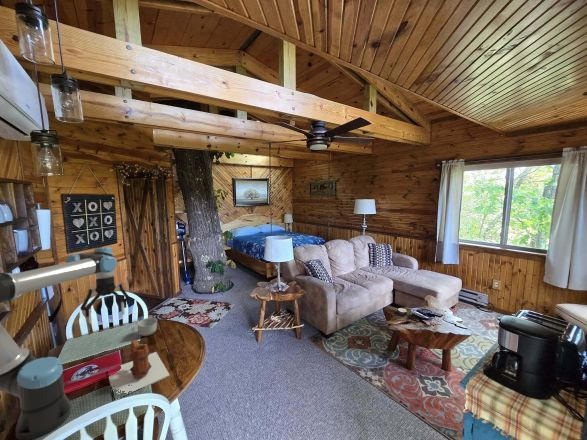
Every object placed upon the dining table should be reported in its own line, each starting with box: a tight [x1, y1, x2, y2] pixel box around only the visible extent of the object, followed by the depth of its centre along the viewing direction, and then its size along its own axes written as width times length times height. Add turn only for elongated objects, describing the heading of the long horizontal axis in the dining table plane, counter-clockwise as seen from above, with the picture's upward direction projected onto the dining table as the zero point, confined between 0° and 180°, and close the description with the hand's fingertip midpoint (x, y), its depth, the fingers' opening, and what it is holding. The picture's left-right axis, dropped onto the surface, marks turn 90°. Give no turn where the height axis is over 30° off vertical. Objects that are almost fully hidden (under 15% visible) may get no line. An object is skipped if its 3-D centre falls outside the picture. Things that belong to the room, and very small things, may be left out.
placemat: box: [108, 351, 171, 402], centre depth 120 cm, size 22×24×1 cm
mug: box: [129, 339, 152, 378], centre depth 119 cm, size 15×8×15 cm, turn 50°
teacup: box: [131, 317, 158, 337], centre depth 153 cm, size 14×11×8 cm
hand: (107, 318), depth 124 cm, fingers open, 13 cm apart
